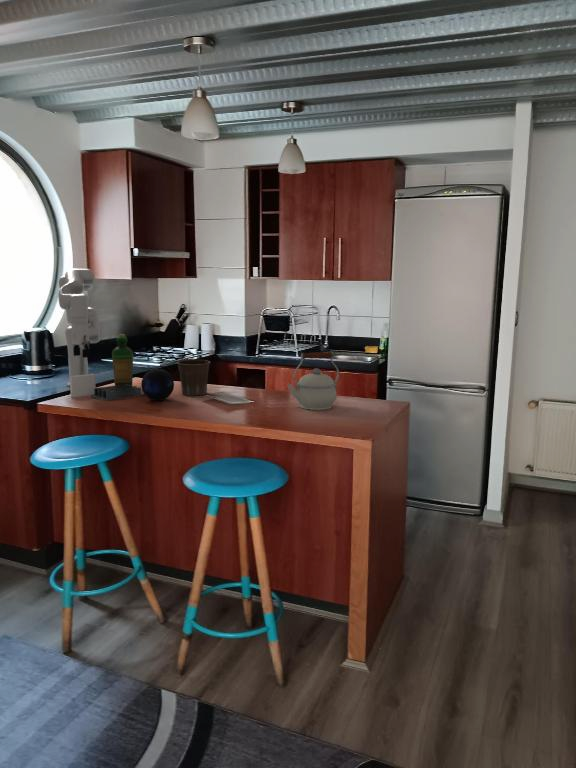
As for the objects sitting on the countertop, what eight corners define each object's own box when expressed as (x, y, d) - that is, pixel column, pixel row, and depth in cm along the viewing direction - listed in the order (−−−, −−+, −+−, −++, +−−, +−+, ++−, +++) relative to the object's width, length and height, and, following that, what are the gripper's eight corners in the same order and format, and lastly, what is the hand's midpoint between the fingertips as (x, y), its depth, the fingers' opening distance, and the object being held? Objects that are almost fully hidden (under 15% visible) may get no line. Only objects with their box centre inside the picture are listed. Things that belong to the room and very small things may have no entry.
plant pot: (205, 397, 302) (204, 364, 300) (173, 396, 305) (172, 363, 302) (214, 391, 318) (214, 360, 316) (183, 390, 321) (183, 359, 318)
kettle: (329, 401, 296) (330, 349, 291) (346, 409, 279) (348, 354, 275) (279, 405, 287) (280, 351, 282) (294, 413, 270) (295, 356, 266)
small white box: (70, 396, 302) (69, 376, 300) (94, 393, 310) (93, 373, 308) (72, 397, 301) (71, 376, 299) (95, 394, 309) (94, 374, 307)
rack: (90, 396, 303) (89, 388, 302) (130, 391, 317) (130, 383, 317) (103, 401, 293) (103, 392, 292) (145, 395, 307) (145, 387, 307)
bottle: (109, 389, 321) (106, 335, 316) (120, 386, 331) (118, 333, 326) (127, 390, 318) (125, 335, 313) (138, 387, 328) (136, 333, 323)
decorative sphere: (138, 403, 288) (137, 371, 285) (145, 397, 302) (144, 366, 300) (171, 403, 288) (171, 371, 286) (176, 397, 303) (175, 366, 300)
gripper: (64, 320, 303) (66, 355, 305) (80, 322, 290) (82, 358, 293) (79, 319, 308) (80, 354, 311) (95, 321, 295) (97, 357, 298)
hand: (81, 356), depth 302 cm, fingers open, 9 cm apart
